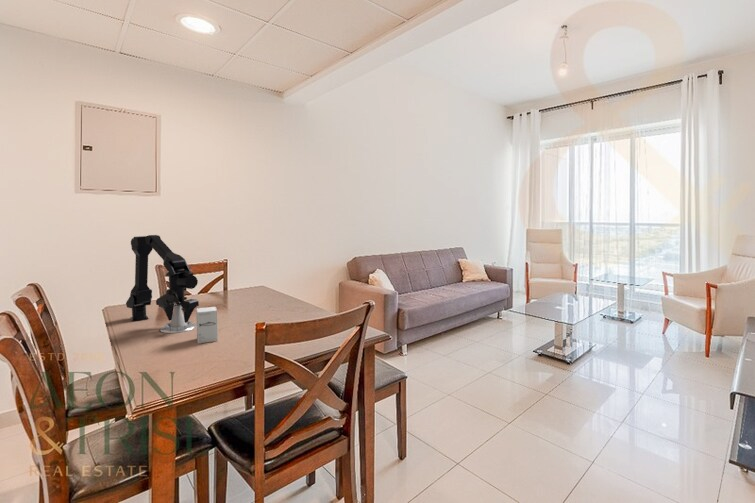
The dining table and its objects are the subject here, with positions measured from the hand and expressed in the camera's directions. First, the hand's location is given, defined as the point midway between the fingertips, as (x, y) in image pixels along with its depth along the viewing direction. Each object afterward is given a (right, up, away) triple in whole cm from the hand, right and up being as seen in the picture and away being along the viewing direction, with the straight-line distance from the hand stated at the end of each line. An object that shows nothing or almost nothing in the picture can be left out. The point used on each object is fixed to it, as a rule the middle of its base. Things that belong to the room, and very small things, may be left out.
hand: (178, 321), depth 164 cm
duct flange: (0, -3, 0) cm, 3 cm away
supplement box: (+19, -5, -14) cm, 25 cm away
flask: (0, -3, 0) cm, 3 cm away
